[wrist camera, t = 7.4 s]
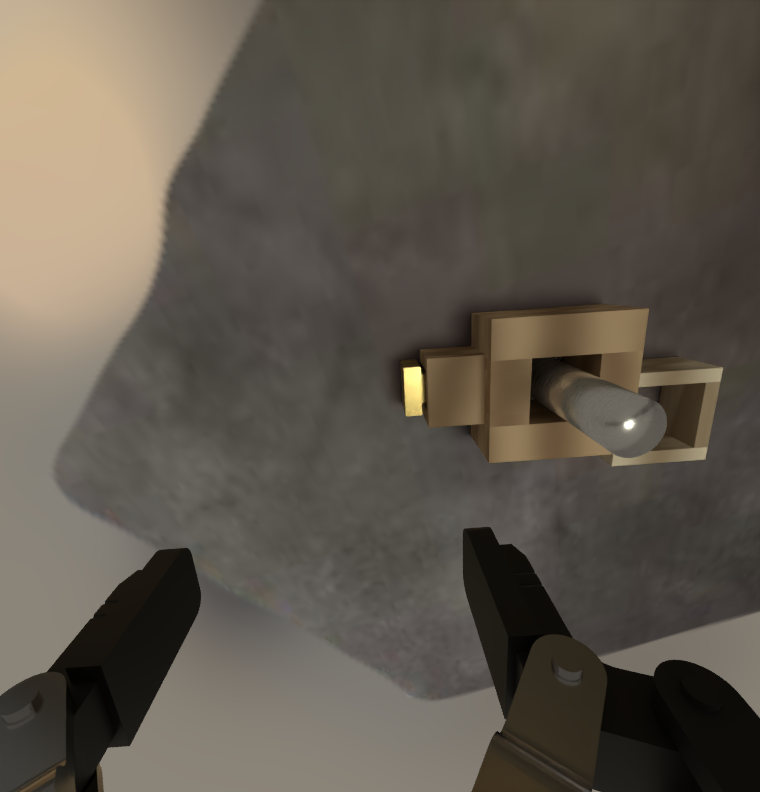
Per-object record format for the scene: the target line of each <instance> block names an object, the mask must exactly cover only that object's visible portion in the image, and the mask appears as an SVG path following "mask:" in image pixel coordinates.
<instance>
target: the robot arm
mask: <svg viewBox="0 0 760 792" xmlns="http://www.w3.org/2000/svg"><path fill="white" fill-rule="evenodd" d="M463 579H464V586H465V591H466V595H467V599H468V602H469V605H470V609H471V612H472V615H473V618H474V621H475V625H476V628H477V631H478V634H479V638H480V641H481V644H482V647H483V650H484V654H485V657H486V660H487V663H488V667H489V670H490V673H491V676H492V679H493V683H494V686H495V689H496V692H497V695H498V699H499V702H500V705H501V708H502V712H503V715H504V718H505V719H506V721H505V724H504V727H503V729H502V731H501V732H500V733H499V732H498V731H497V732H496V733H495V734H494V736H493V737H492V739H491V741H490V744H489V746H488V749H487V751H486V754H485V757H484V760H483V762H482V765H481V768H480V770H479V773H478V776H477V779H476V781H475V784H474V787H473V790H472V792H592V789H594V790H597V791H600V792H760V718H759V717H758V716H757V715H756V713H755V712H754V711H753V710H752V708H751V707H750V706H749V705H748V704H747V702H746V701H745V700H744V699H743V698H742V697H741V695H740V694H739V693H738V692H737V691H736V690H735V689H734V688H733V687H732V686H731V685H730V684H729V683H727V682H726V681H724V679H722V678H721V677H720V676H718V675H716V674H715V673H713V672H712V671H710V670H708V669H706V668H704V667H702V666H699V665H697V664H694V663H691V662H688V661H682V660H668V661H665V662H662V663H661V664H659V665H658V667H657V668H656V670H655V673H654V676H649V675H645V674H640V673H636V672H631V671H627V670H623V669H619V668H615V667H612V666H609V665H607V664H604V663H602V662H601V661H600V659H599V658H598V657H597V655H596V654H595V653H594V652H593V651H592V650H591V649H589V648H588V647H587V646H586V645H584V644H583V643H581V642H579V641H577V640H575V639H573V637H572V636H571V634H570V632H569V631H568V629H567V627H566V625H565V624H564V622H563V620H562V618H561V617H560V615H559V613H558V611H557V610H556V608H555V606H554V604H553V603H552V601H551V599H550V597H549V596H548V594H547V592H546V590H545V589H544V587H542V584H541V582H540V580H539V578H538V576H537V575H536V574H535V572H534V569H533V568H532V566H531V564H530V562H529V561H528V559H527V557H526V556H525V555H524V554H523V553H522V552H520V551H519V550H518V549H517V548H516V547H514V546H513V545H512V544H505V545H499V543H498V541H497V539H496V537H495V535H494V533H493V531H492V529H491V528H490V527H481V528H467V529H464V530H463ZM200 601H201V592H200V587H199V582H198V578H197V574H196V570H195V566H194V562H193V558H192V554H191V552H190V550H189V549H188V548H179V549H165V550H159V551H157V552H156V553H155V554H154V556H153V557H152V558H151V559H150V561H149V562H148V563H147V564H146V566H145V567H144V568H143V570H137V571H136V572H135V573H134V574H132V575H131V576H130V577H128V578H127V579H126V580H124V581H123V582H122V583H120V584H119V585H118V586H117V588H116V589H115V590H114V591H113V592H112V594H111V595H110V596H109V597H108V598H107V600H106V601H105V604H104V605H102V606H101V607H100V608H99V609H98V610H97V612H96V613H95V614H94V617H93V619H90V620H89V622H88V623H87V624H86V625H85V626H84V628H83V629H82V630H81V631H80V632H79V634H78V635H77V636H76V637H75V639H74V640H73V641H72V642H71V643H70V644H69V646H68V647H67V648H66V649H65V651H64V652H63V653H62V654H61V655H60V657H59V658H58V659H57V660H56V662H55V663H54V664H53V665H52V666H51V668H50V669H49V670H48V671H47V672H45V673H41V674H38V675H35V676H32V677H30V678H28V679H25V680H24V681H22V682H20V683H18V684H16V685H15V686H13V687H12V688H10V689H9V690H7V691H6V692H5V693H3V694H2V695H1V696H0V792H104V790H103V777H102V769H101V766H100V764H99V762H100V761H101V759H102V757H103V755H104V754H105V752H106V750H107V748H109V747H122V746H130V744H131V743H132V740H133V739H134V737H135V735H136V733H137V731H138V729H139V727H140V725H141V723H142V721H143V719H144V717H145V715H146V713H147V711H148V710H149V708H150V706H151V704H152V701H153V700H154V698H155V696H156V694H157V692H158V690H159V688H160V686H161V684H162V682H163V680H164V678H165V677H166V675H167V672H168V671H169V669H170V667H171V664H172V663H173V661H174V659H175V657H176V655H177V653H178V651H179V649H180V647H181V645H182V643H183V641H184V639H185V638H186V636H187V634H188V632H189V630H190V628H191V626H192V624H193V622H194V620H195V618H196V616H197V614H198V611H199V607H200Z"/></svg>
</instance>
